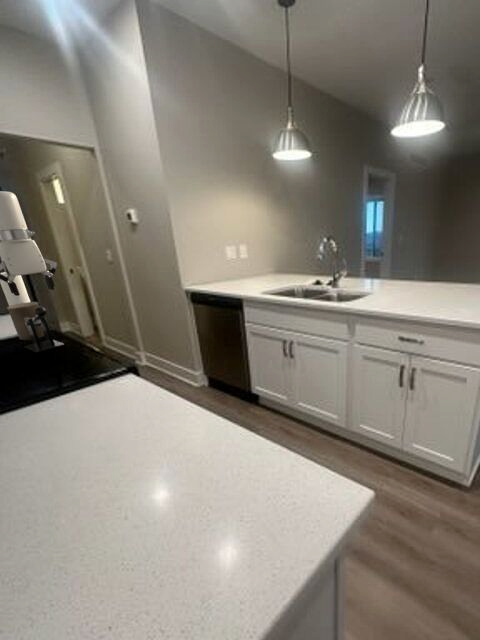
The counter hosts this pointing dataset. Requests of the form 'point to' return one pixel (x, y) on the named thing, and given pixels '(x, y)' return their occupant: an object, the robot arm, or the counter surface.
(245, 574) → the counter surface
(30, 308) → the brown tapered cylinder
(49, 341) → the bracket
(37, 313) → the lever
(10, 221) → the robot arm
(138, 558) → the counter surface
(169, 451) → the counter surface
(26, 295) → the cylindrical container
